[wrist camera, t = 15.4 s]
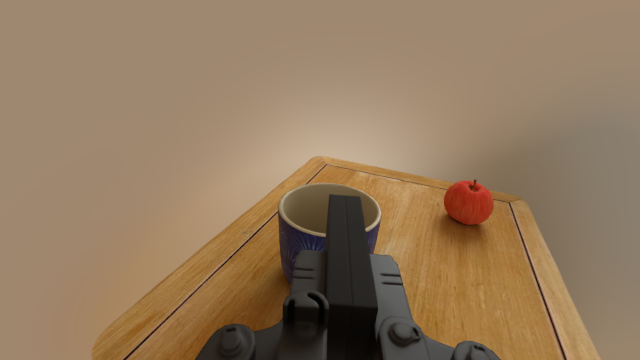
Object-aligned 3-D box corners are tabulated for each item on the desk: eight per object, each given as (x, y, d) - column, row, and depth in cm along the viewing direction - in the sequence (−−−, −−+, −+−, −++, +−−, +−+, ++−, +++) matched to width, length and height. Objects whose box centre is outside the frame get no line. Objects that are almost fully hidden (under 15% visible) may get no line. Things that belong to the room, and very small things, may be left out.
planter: (331, 236, 50) (336, 175, 45) (389, 284, 41) (404, 214, 36) (261, 265, 43) (259, 196, 38) (313, 330, 34) (319, 251, 29)
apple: (435, 206, 60) (444, 169, 57) (476, 209, 60) (489, 172, 57) (447, 229, 53) (459, 188, 50) (494, 233, 53) (509, 193, 49)
